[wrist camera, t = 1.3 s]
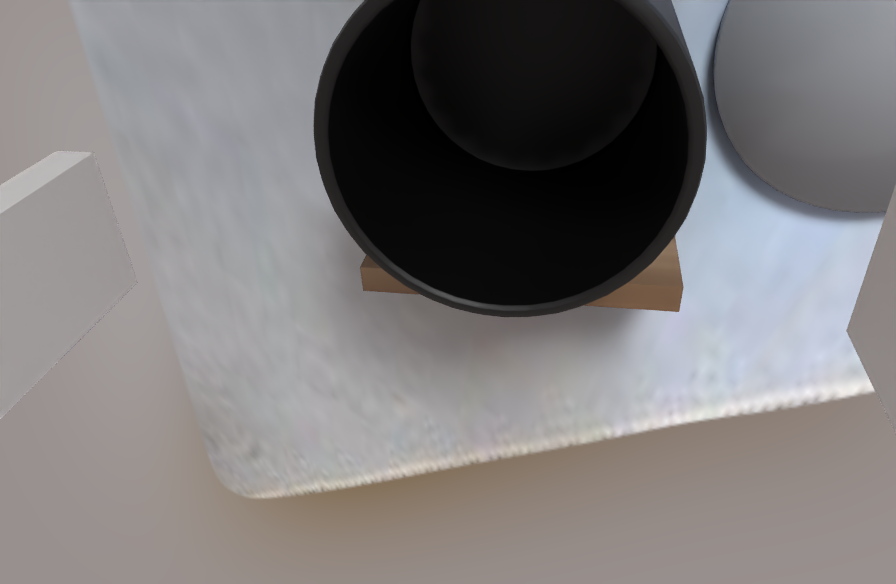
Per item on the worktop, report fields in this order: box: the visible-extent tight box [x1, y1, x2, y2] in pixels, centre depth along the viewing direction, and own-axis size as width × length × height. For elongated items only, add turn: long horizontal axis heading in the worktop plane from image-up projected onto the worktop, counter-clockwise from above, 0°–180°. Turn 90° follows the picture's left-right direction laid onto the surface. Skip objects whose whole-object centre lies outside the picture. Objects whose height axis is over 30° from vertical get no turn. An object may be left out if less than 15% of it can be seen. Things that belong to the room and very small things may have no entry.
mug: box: [314, 0, 707, 317], centre depth 20 cm, size 9×12×9 cm
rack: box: [360, 236, 683, 312], centre depth 22 cm, size 17×11×4 cm, turn 2°
